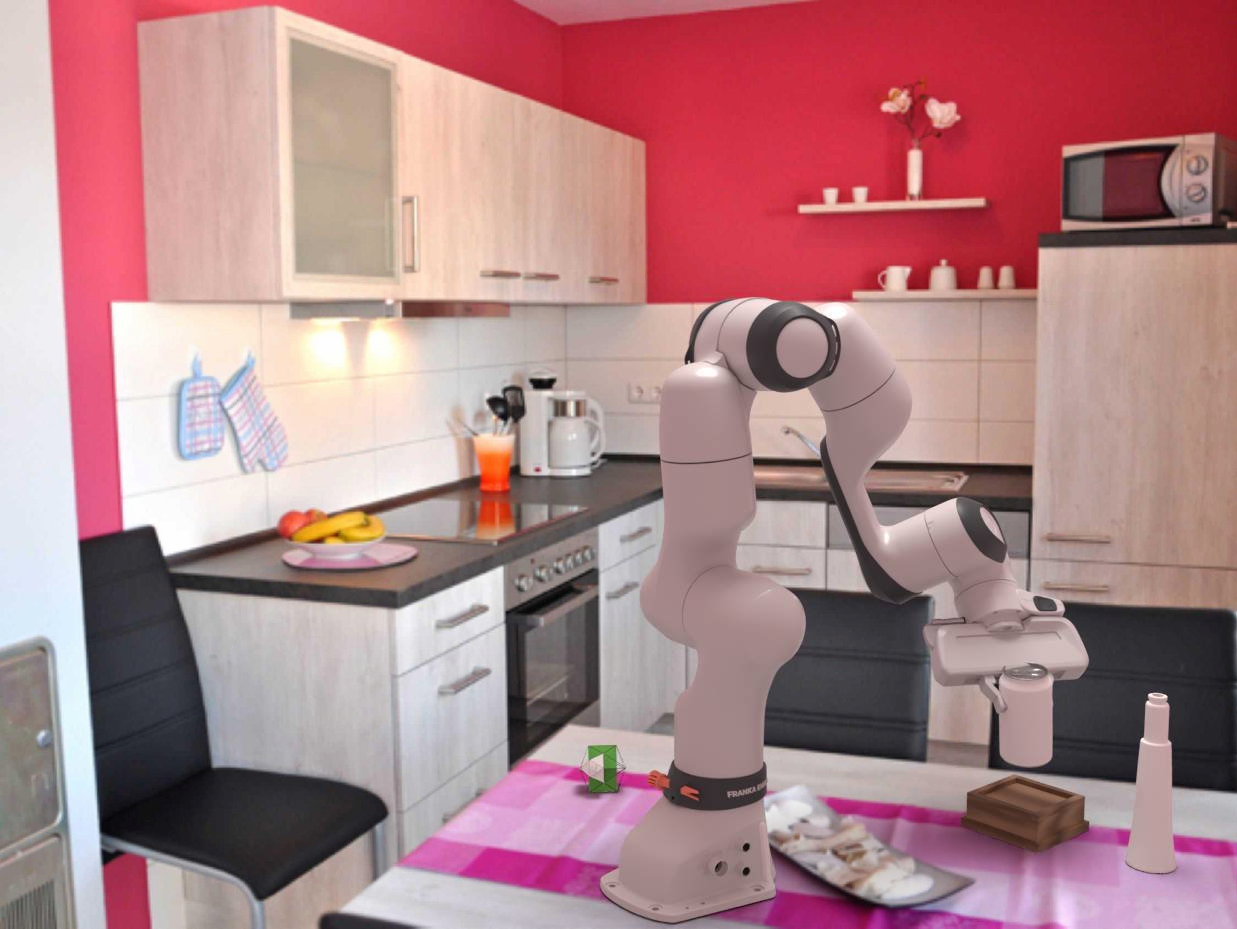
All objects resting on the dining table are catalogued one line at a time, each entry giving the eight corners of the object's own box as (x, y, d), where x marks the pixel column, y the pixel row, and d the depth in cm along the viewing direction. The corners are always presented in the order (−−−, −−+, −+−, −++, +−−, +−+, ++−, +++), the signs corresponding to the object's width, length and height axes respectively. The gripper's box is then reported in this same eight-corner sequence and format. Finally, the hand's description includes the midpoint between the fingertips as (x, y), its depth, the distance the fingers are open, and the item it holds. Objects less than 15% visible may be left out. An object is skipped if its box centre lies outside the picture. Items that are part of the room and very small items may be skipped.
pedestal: (1037, 853, 170) (1039, 818, 169) (960, 825, 179) (961, 792, 178) (1089, 829, 177) (1090, 796, 177) (1012, 804, 186) (1013, 772, 186)
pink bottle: (1114, 858, 168) (1121, 691, 165) (1151, 851, 170) (1159, 686, 168) (1148, 877, 162) (1156, 704, 160) (1187, 869, 164) (1195, 699, 162)
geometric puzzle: (578, 763, 198) (578, 732, 192) (623, 762, 198) (625, 731, 193) (579, 805, 193) (580, 775, 187) (626, 804, 193) (628, 773, 188)
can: (1057, 768, 165) (1058, 679, 162) (1005, 770, 166) (1004, 681, 163) (1045, 744, 171) (1045, 659, 168) (995, 746, 172) (994, 661, 169)
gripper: (925, 607, 170) (954, 702, 162) (1073, 600, 173) (1109, 693, 165) (912, 632, 175) (940, 726, 167) (1056, 625, 178) (1090, 717, 170)
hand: (1025, 710), depth 166 cm, fingers closed on can, 4 cm apart
